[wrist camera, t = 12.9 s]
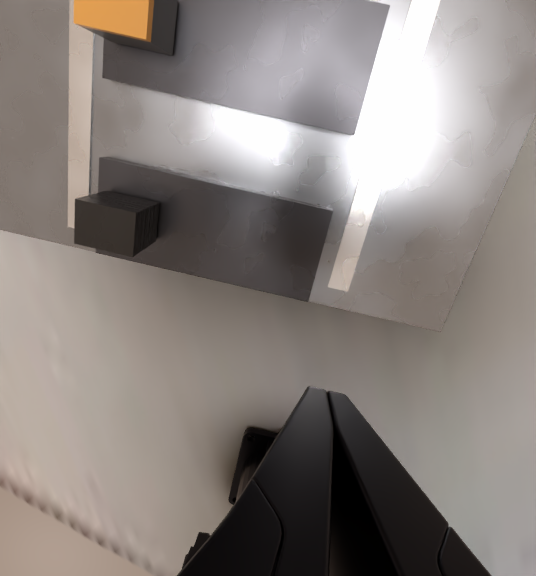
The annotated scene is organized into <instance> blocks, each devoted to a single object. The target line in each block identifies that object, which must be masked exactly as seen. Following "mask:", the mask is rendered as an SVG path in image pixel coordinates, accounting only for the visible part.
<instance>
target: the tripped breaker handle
mask: <svg viewBox="0 0 536 576" xmlns="http://www.w3.org/2000/svg"><path fill="white" fill-rule="evenodd" d="M177 5H178V0H74V24H76V25H78V26H80V27H83V28H85V29H87V30H89V31H91V32H93V33H95V34H97V35H99V36H101V37H103V38H105V39H107V40H109V41H111V42H114V43H118V44H123V45H127V46H132V47H136V48H140V49H145V50H149V51H154V52H158V53H162V54H167V55H171V56H173V46H174V35H175V25H176V15H177Z"/></svg>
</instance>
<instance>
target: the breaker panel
mask: <svg viewBox="0 0 536 576" xmlns="http://www.w3.org/2000/svg"><path fill="white" fill-rule="evenodd" d="M535 116H536V0H178V5H177V15H176V25H175V35H174V46H173V56H171V55H167V54H162V53H158V52H154V51H149V50H145V49H140V48H136V47H132V46H127V45H123V44H118V43H114V42H111V41H109V40H107V39H105V38H103V37H101V36H99V35H97V34H95V33H93V32H91V31H89V30H87V29H85V28H83V27H80V26H78V25H76V24H74V0H0V230H3V231H8V232H12V233H16V234H21V235H25V236H29V237H34V238H38V239H42V240H46V241H51V242H55V243H59V244H64V245H68V246H72V247H77V248H81V249H85V250H90V251H94V252H96V253H99V254H104V255H108V256H112V257H117V258H121V259H125V260H130V261H134V262H138V263H143V264H147V265H151V266H155V267H160V268H164V269H168V270H173V271H177V272H181V273H186V274H190V275H194V276H198V277H203V278H207V279H211V280H216V281H220V282H224V283H229V284H233V285H237V286H242V287H246V288H250V289H254V290H259V291H263V292H267V293H272V294H276V295H280V296H285V297H289V298H293V299H297V300H302V301H306V302H308V301H309V302H313V303H318V304H322V305H326V306H331V307H335V308H339V309H344V310H348V311H352V312H356V313H361V314H365V315H369V316H374V317H378V318H382V319H387V320H391V321H395V322H400V323H404V324H408V325H412V326H417V327H421V328H425V329H430V330H434V331H438V332H441V330H442V328H443V325H444V323H445V321H446V318H447V316H448V314H449V312H450V309H451V307H452V305H453V303H454V300H455V298H456V296H457V293H458V291H459V289H460V287H461V284H462V282H463V280H464V277H465V275H466V273H467V271H468V268H469V266H470V264H471V261H472V259H473V257H474V255H475V252H476V250H477V248H478V246H479V243H480V241H481V239H482V236H483V234H484V232H485V230H486V227H487V225H488V223H489V220H490V218H491V216H492V214H493V211H494V209H495V207H496V204H497V202H498V200H499V198H500V195H501V193H502V191H503V189H504V186H505V184H506V182H507V179H508V177H509V175H510V173H511V170H512V168H513V166H514V163H515V161H516V159H517V157H518V154H519V152H520V150H521V147H522V145H523V143H524V141H525V138H526V136H527V134H528V132H529V129H530V127H531V125H532V122H533V120H534V118H535Z"/></svg>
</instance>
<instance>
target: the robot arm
mask: <svg viewBox="0 0 536 576" xmlns="http://www.w3.org/2000/svg"><path fill="white" fill-rule="evenodd" d="M250 436H254V437H250ZM229 502H230V503H231V504H233V507H232V508H231V510H230V511H229V513H228V514H227V516H226V517H225V518H224V519H223V521H222V522H221V523H220V524H219V526H218V527H217V528H216V530H215V531H214V532H213V533H212V535H211V536H210V534H209V533H202V532H199V534H198V536H197V539H196V542H195V545H194V547H192V546H191V548H190V551H189V553H188V554H187V555H186V556H185V560H184V563H183V567H182V570H181V571H180V572H179V573H178V575H177V576H491V575H490V573H489V572H488V571H487V570H486V568H485V567H484V566H483V565H482V564H481V562H480V561H479V560H478V559H477V558H476V556H475V555H474V554H473V553H472V552H471V550H470V549H469V548H468V547H467V546H466V544H465V543H464V542H463V541H462V539H461V538H460V537H459V536H458V534H457V533H456V532H455V531H454V529H453V528H452V527H448V522H447V521H446V520H445V518H444V517H443V516H442V515H441V513H440V512H439V511H438V510H437V508H436V507H435V506H434V505H433V503H432V502H431V501H430V500H429V498H428V497H427V496H426V495H425V493H424V492H423V491H422V490H421V488H420V487H419V486H418V485H417V483H416V482H415V481H414V480H413V478H412V477H411V476H410V475H409V473H408V472H407V471H406V470H405V468H404V467H403V466H402V465H401V463H400V462H399V461H398V460H397V458H396V457H395V456H394V455H393V453H392V452H391V451H390V450H389V448H388V447H387V446H386V445H385V443H384V442H383V441H382V440H381V438H380V437H379V436H378V435H377V433H376V432H375V431H374V430H373V428H372V427H371V426H370V425H369V423H368V422H367V421H366V420H365V418H364V417H363V416H362V415H361V413H360V412H359V411H358V410H357V408H356V407H355V406H354V405H353V403H352V402H351V401H350V400H349V398H348V397H347V396H346V395H345V394H341V393H337V392H333V391H328V392H326V391H325V390H324V389H320V388H316V387H311V386H309V387H307V389H306V390H305V392H304V394H303V395H302V397H301V398H300V400H299V402H298V403H297V405H296V407H295V408H294V410H293V411H292V413H291V415H290V416H289V418H288V419H287V421H286V423H285V424H284V426H283V428H282V429H281V431H280V432H279V434H277V433H273V432H268V431H264V430H260V429H256V428H248V429H247V430H245V432H244V436H243V441H242V445H241V449H240V453H239V457H238V461H237V466H236V470H235V474H234V478H233V482H232V486H231V491H230V495H229Z"/></svg>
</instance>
